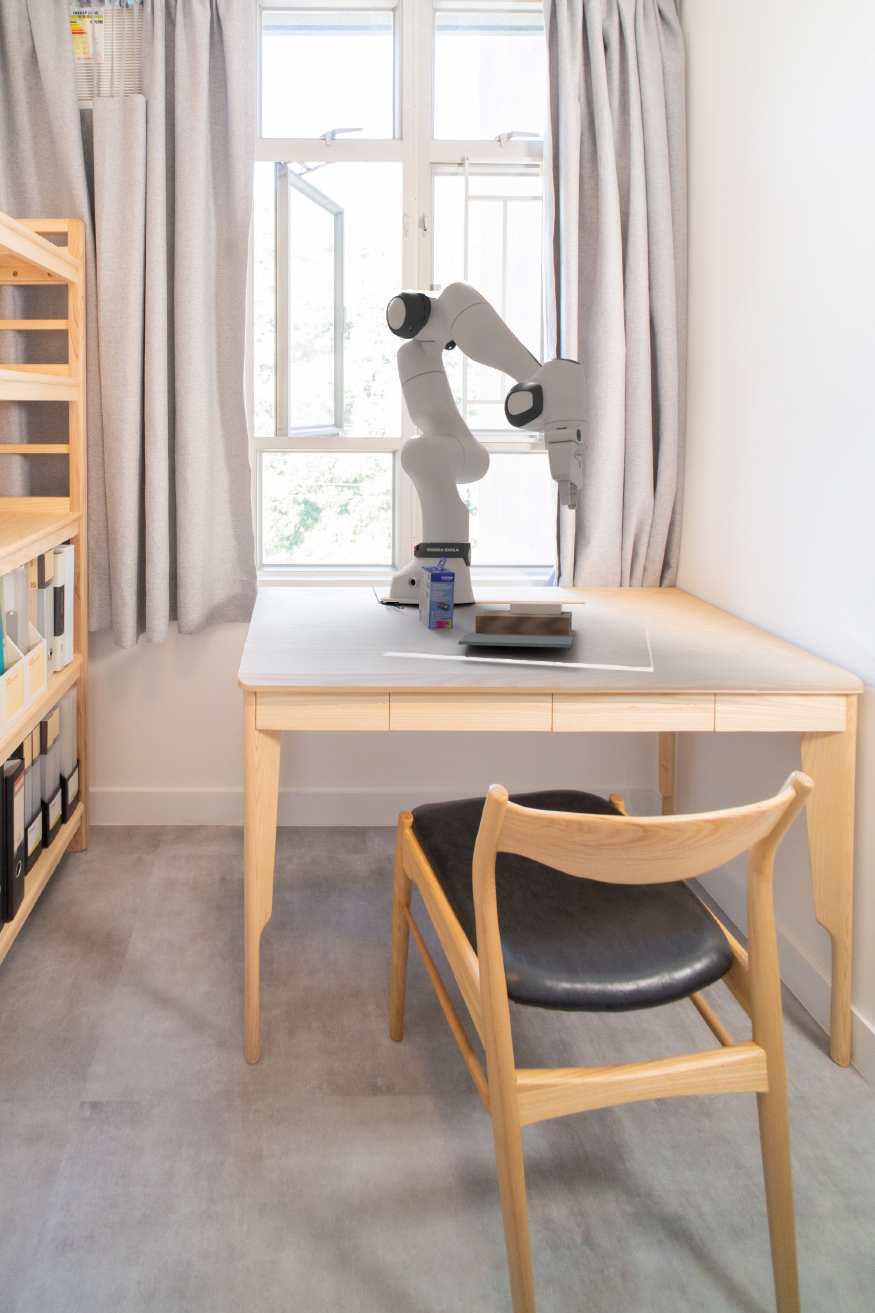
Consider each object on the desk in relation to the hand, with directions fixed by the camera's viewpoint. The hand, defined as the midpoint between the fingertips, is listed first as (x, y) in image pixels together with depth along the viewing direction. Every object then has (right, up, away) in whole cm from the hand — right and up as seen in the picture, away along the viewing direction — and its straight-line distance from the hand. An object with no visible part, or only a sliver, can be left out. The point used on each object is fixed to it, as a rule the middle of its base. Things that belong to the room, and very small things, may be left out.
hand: (569, 507), depth 193 cm
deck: (-9, -26, -4) cm, 28 cm away
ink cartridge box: (-27, -25, +4) cm, 37 cm away
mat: (-12, -28, -18) cm, 35 cm away
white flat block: (-7, -22, -2) cm, 23 cm away
